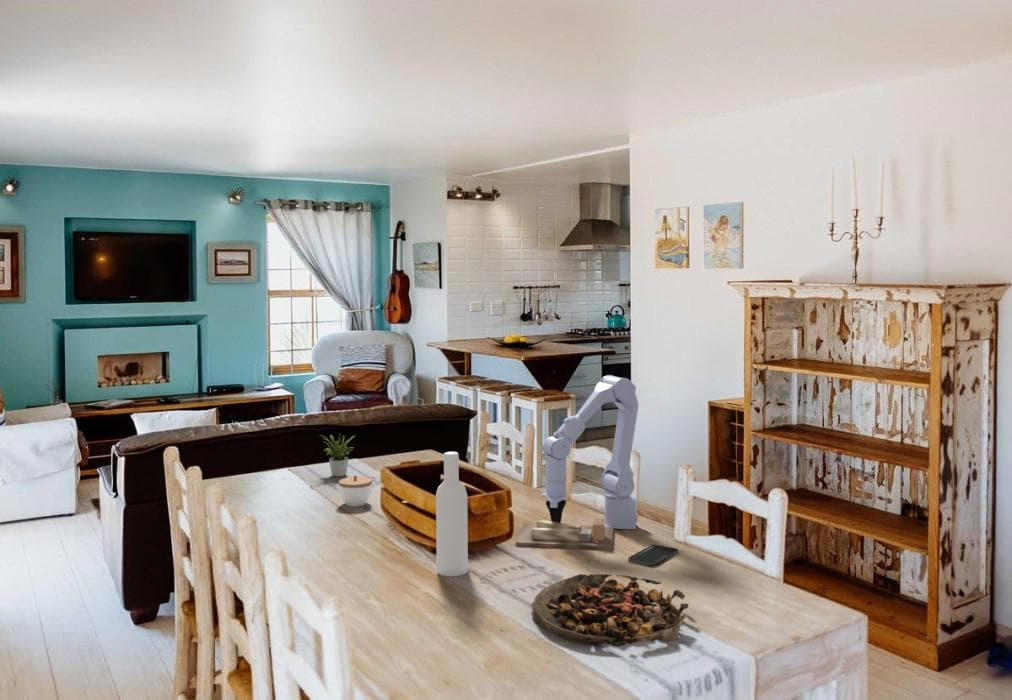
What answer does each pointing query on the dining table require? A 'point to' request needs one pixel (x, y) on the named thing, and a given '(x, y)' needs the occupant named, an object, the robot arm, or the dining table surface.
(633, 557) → the phone
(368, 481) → the lidded jar
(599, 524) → the brown rectangular block
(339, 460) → the house plant
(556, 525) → the bar
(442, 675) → the dining table surface
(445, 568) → the bottle
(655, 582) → the food dish
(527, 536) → the tongs base
